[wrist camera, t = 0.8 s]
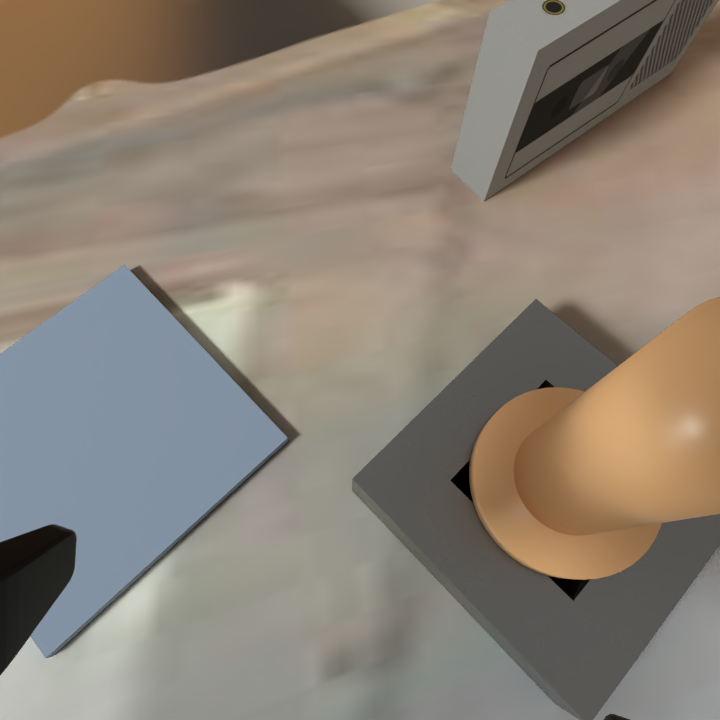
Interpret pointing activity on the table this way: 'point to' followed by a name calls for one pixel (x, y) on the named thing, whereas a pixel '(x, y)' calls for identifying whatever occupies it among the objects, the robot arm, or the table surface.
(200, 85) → the table surface
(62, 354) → the mat
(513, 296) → the table surface
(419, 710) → the table surface
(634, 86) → the cassette player
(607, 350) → the table surface
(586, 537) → the joystick handle
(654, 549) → the housing block
